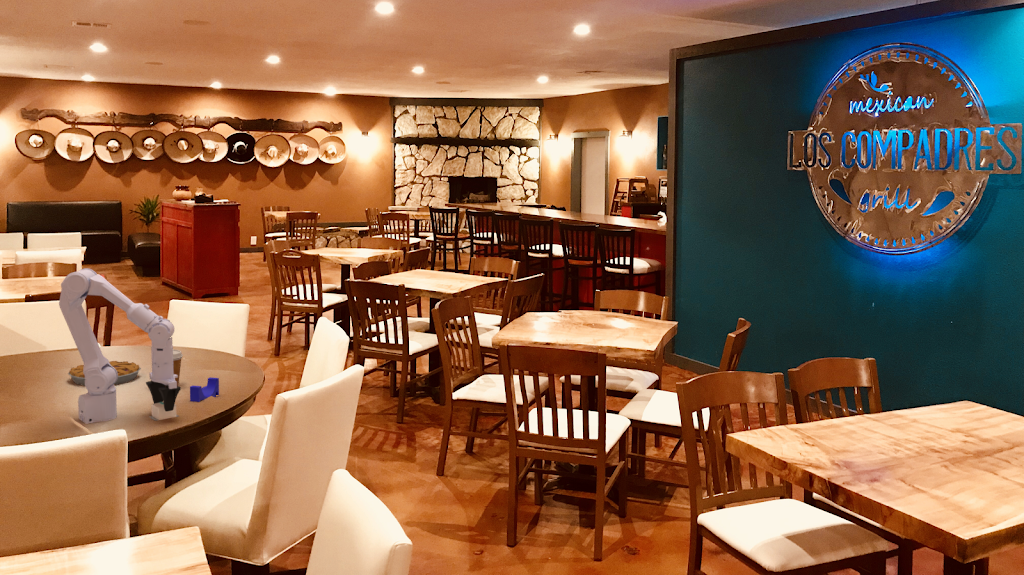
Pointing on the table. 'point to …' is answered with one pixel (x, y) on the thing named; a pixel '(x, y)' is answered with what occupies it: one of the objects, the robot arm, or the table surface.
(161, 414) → the small white box
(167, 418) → the base plate
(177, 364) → the disposable coffee cup
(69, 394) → the table surface
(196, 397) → the blue u-shaped cradle
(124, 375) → the pie
